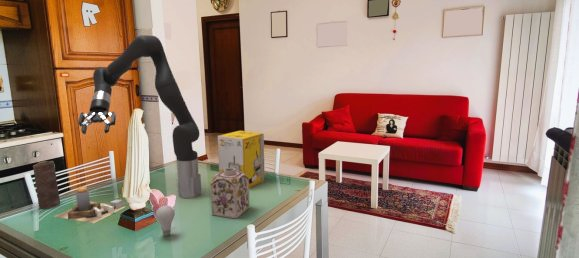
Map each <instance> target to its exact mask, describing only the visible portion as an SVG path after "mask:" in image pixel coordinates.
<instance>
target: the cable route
mask: <svg viewBox="0 0 579 258" xmlns="http://www.w3.org/2000/svg"><path fill="white" fill-rule="evenodd" d="M109 204H110V206H109V205H103V210H104V211H102V212H101V210H99V209H98V208H97V207H95V208H93V209H94V211H95V214H93V215H86V218H92V217H96V216H97V217H99V218H100V217H102V215H103V214H106V213H111V215H113V214H115V213H114V209H118V208H120V207H122V206H124V205H123V204H124V203H123V200H122V199H113V200H112V201H110V202H109Z"/></svg>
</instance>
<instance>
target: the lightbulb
mask: <svg viewBox="0 0 579 258" xmlns="http://www.w3.org/2000/svg"><path fill="white" fill-rule="evenodd" d="M175 214H176V213H175V210H174V208H173V207H172V206H171V205H162V206H160V207H158V209H157V210H156V212H155V218H156V220H157V222H159V225H160V228H161V230H162V234H163V236H165V237H168V236H170V235H171V230H172V224H173V223H172V222H173V220H174V218H175Z"/></svg>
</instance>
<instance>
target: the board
mask: <svg viewBox="0 0 579 258" xmlns="http://www.w3.org/2000/svg"><path fill="white" fill-rule="evenodd" d="M90 203H100V206H101V208H100V209H99V210H101V212H102V211H104V210H103V205H109V206H110V203H104V202H103V203H102V202H97V201H91V200H90ZM73 208H74V207H72V208H70V209H68V210H65V211H63V212H61V213H59V214H56V215H54V216H53V218H54V217H55V218H60V219H66V220H69V219H68V213H69V212H70V211H71V210H72V209H73ZM125 208H126V206H124V205H123V206H122V207H120V208H118V209H114V213H113V214H115V213H117V212H119V211H121V210H123V209H125ZM111 215H112V214H111V213H106V214H103V215H102V217H100V218H99V217H97V216H96V217H92V218H86V217H84V218H73V219H70V220H71V221H78V222H82V223H83V222H85V223H90V224H95V223H97V222H99V221H101V220H103V219H105V218H107V217H109V216H111Z"/></svg>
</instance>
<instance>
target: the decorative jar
mask: <svg viewBox="0 0 579 258" xmlns="http://www.w3.org/2000/svg"><path fill="white" fill-rule="evenodd" d="M210 203H211V207H210V208H211V215H212V216H218V217H221V218H222V217H223V218H224V217H225V218H229V219H238V218H239V217H241V215H243V214H244V213H245V212H246V211H247V210H248V209H249V208H250V188H249V178H248V177H247V176H246V174H244V173H243V172H241V171H236V169H235V168H226V169H224V171H222V172H219V171H218V172H217V173H215V174H214V176H213V178H212V180H211V181H210Z"/></svg>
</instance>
